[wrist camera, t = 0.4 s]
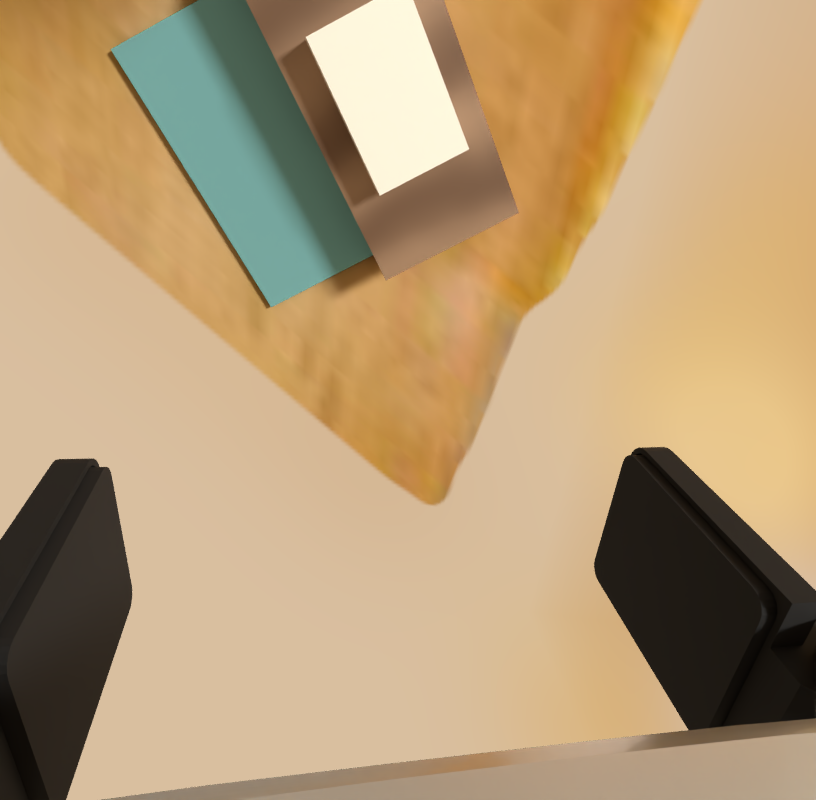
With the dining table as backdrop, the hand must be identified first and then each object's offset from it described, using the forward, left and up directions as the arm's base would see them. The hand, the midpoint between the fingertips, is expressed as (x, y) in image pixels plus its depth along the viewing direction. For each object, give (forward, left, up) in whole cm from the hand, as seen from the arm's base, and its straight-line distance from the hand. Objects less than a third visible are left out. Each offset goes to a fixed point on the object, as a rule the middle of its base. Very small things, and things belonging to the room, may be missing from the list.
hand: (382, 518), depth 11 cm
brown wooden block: (-4, +7, -34) cm, 35 cm away
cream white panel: (-4, +7, -31) cm, 32 cm away
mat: (-4, -3, -34) cm, 35 cm away
